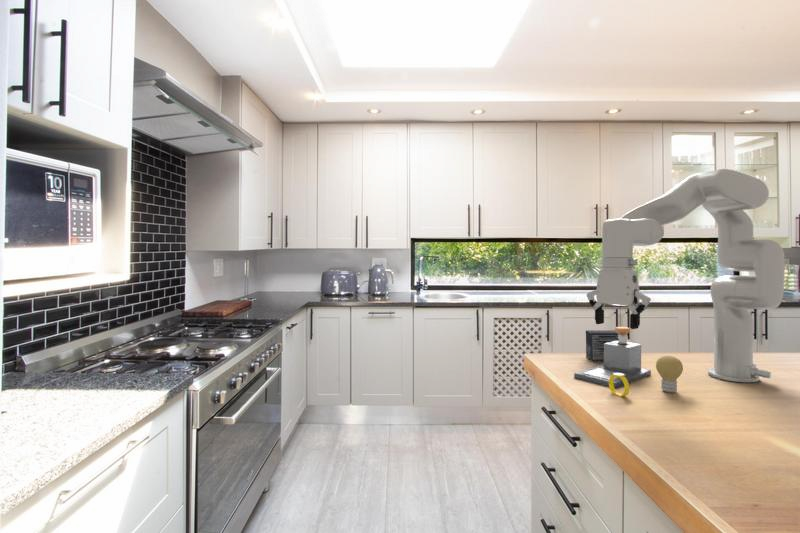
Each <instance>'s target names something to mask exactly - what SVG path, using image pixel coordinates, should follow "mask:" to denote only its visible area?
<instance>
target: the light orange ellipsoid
mask: <svg viewBox="0 0 800 533" xmlns="http://www.w3.org/2000/svg"><path fill="white" fill-rule="evenodd" d="M614 331H615V332H618V344H619V345H627V342H628V334H629V333H631V328H630V327H626V326H615V327H614Z"/></svg>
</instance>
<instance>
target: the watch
mask: <svg viewBox="0 0 800 533" xmlns="http://www.w3.org/2000/svg"><path fill="white" fill-rule="evenodd" d="M615 377H618V378H621V380H622V381H623V383H624V385H623V386H624V391H623V393H619V392H617V390H616V388H614V385H613V380H614V378H615ZM608 387H609V390H610V391H611V393H612V394H613V395H616V396H618V397H620V398H622V397H623V398H624V396H625V397H627V396H628V394H629V392H630V383H628V381H627V379H626V378H625V377H624V374H622V373H613V375H612V376H611V377H610V378H609V386H608Z"/></svg>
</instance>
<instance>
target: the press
mask: <svg viewBox="0 0 800 533" xmlns="http://www.w3.org/2000/svg"><path fill="white" fill-rule="evenodd" d="M613 373H622V374H624V377H625V378H626V379H627V381H628V383H629V384H630V383H633V382H635V381H638V380H640V379H643V378H646V377H649V376H652V370H651V369H647V368H643V367H642V344H641V343H637V342H636V343H635V342H628V341H627V345H619V344H618V341H617V340H616V341H612V342H608V343H604V361H603V364H600V365H597V366H593V367H589V368H587V369H584V370H580V371H577V372H574V373H573V376H574V377H573V378H574V379H578V380H582V381H585V382H590V383H594V384H598V385H602V386H606V387H609V378H610V377H611V376H612V375H613ZM613 385H614V389H617V388H621V387H623V386H625V385H624V383H623V381H622V380H621V378H618V377H615V378H614V380H613Z"/></svg>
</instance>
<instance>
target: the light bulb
mask: <svg viewBox="0 0 800 533" xmlns="http://www.w3.org/2000/svg"><path fill="white" fill-rule="evenodd" d="M655 368H656V371H657V373H658V374H659V375H660V377H661V383H660V384H661V386H660V388H661V390H662V391H663V392H665V393H670V394H671V393H676V392H677V391H678V388H677V387H678V381H677V379H678V378H679V377H681V375H682V373H683V371H684V366H683V363H682V361H681V360H680V359H679V358H677V357H675V356H672V355H663V356H661V357H659V358H658V359H657V361H656V363H655Z"/></svg>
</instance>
